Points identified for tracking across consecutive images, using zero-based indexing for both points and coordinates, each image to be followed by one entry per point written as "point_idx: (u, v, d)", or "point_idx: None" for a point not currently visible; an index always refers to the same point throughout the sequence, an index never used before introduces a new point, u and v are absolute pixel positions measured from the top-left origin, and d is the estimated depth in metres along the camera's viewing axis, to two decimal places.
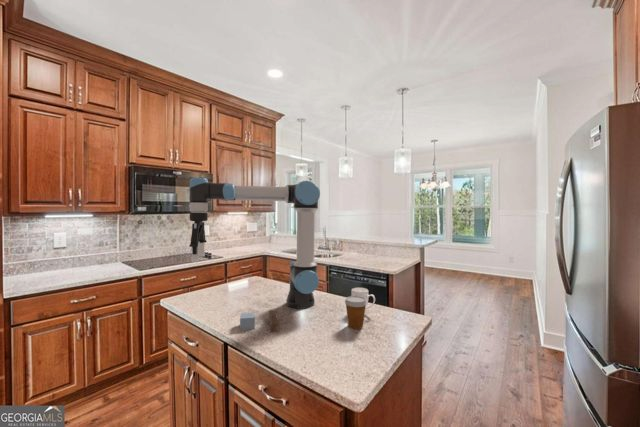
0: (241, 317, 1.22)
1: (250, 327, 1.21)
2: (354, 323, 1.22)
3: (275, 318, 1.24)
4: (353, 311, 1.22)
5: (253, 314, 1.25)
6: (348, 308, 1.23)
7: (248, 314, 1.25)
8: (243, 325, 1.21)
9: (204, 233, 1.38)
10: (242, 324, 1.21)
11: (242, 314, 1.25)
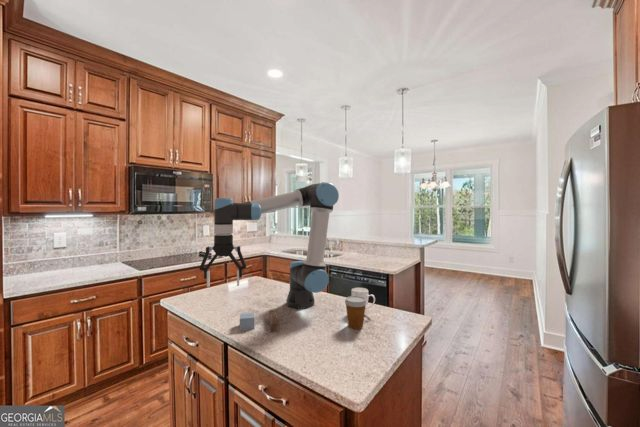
0: (241, 317, 1.21)
1: (250, 327, 1.21)
2: (354, 323, 1.22)
3: (275, 318, 1.24)
4: (353, 311, 1.22)
5: (253, 314, 1.25)
6: (348, 308, 1.23)
7: (248, 314, 1.25)
8: (243, 325, 1.21)
9: (240, 259, 1.22)
10: (241, 324, 1.20)
11: (242, 314, 1.25)
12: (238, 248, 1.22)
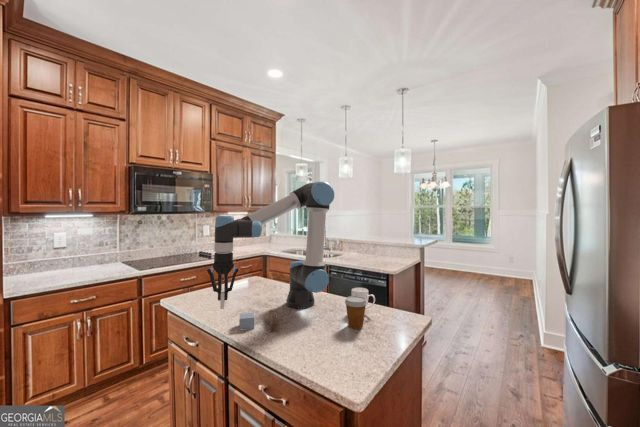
0: (240, 317, 1.21)
1: (249, 327, 1.21)
2: (354, 323, 1.22)
3: (275, 318, 1.24)
4: (353, 311, 1.22)
5: (252, 314, 1.25)
6: (348, 308, 1.23)
7: (247, 314, 1.25)
8: (242, 325, 1.20)
9: (231, 281, 1.21)
10: (241, 324, 1.20)
11: (241, 314, 1.25)
12: (236, 270, 1.21)
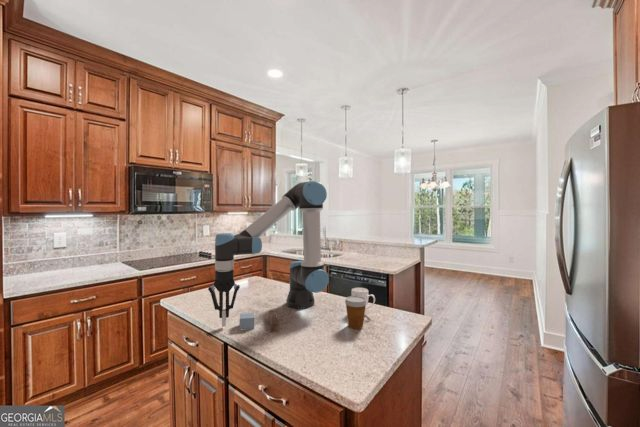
0: (240, 317, 1.21)
1: (249, 327, 1.21)
2: (354, 323, 1.22)
3: (275, 318, 1.24)
4: (353, 311, 1.22)
5: (252, 314, 1.25)
6: (348, 308, 1.23)
7: (247, 314, 1.25)
8: (242, 325, 1.20)
9: (232, 298, 1.21)
10: (241, 324, 1.20)
11: (241, 314, 1.25)
12: (237, 287, 1.22)
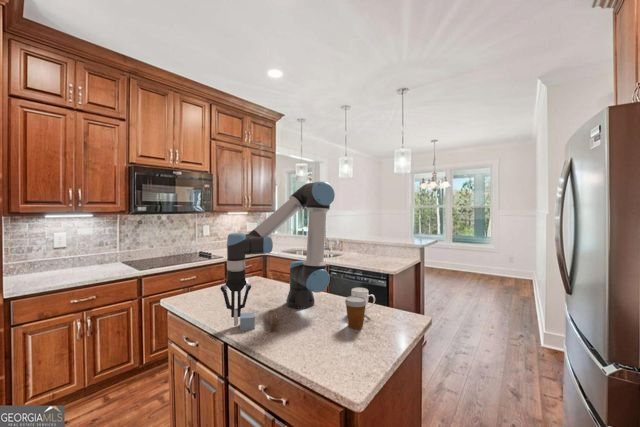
0: (241, 317, 1.21)
1: (250, 327, 1.21)
2: (354, 323, 1.22)
3: (275, 318, 1.24)
4: (353, 311, 1.22)
5: (253, 314, 1.25)
6: (348, 308, 1.23)
7: (248, 314, 1.25)
8: (243, 324, 1.20)
9: (244, 298, 1.22)
10: (242, 324, 1.20)
11: (242, 314, 1.25)
12: (249, 287, 1.23)
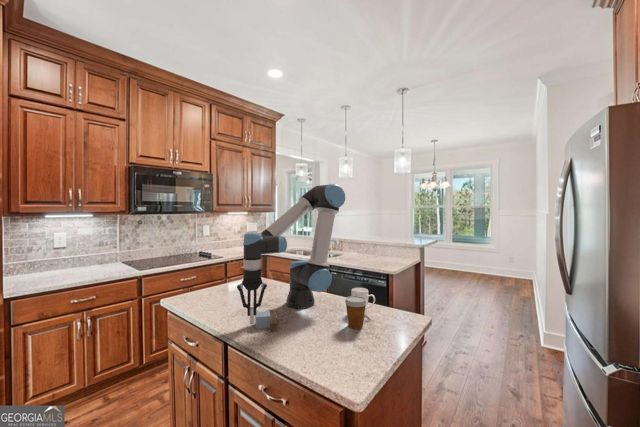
0: (257, 316, 1.23)
1: (266, 326, 1.22)
2: (354, 323, 1.22)
3: (275, 318, 1.24)
4: (353, 311, 1.22)
5: (268, 313, 1.26)
6: (348, 308, 1.23)
7: (263, 313, 1.26)
8: (259, 323, 1.22)
9: (260, 296, 1.24)
10: (258, 322, 1.22)
11: (257, 313, 1.26)
12: (265, 286, 1.24)
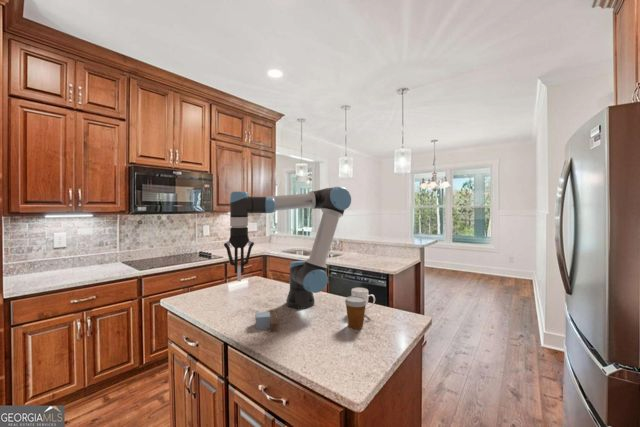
0: (257, 316, 1.23)
1: (266, 326, 1.22)
2: (354, 323, 1.22)
3: (275, 318, 1.24)
4: (353, 311, 1.22)
5: (268, 313, 1.26)
6: (348, 308, 1.23)
7: (263, 313, 1.26)
8: (259, 324, 1.22)
9: (247, 254, 1.26)
10: (258, 323, 1.22)
11: (257, 313, 1.26)
12: (252, 244, 1.26)
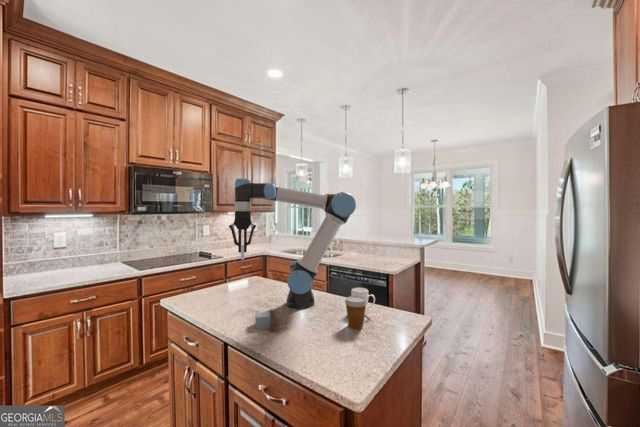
0: (257, 316, 1.23)
1: (266, 326, 1.23)
2: (354, 323, 1.22)
3: (275, 318, 1.24)
4: (353, 311, 1.22)
5: (268, 313, 1.26)
6: (348, 308, 1.23)
7: (263, 313, 1.26)
8: (259, 324, 1.22)
9: (250, 235, 1.39)
10: (258, 323, 1.22)
11: (257, 313, 1.26)
12: (254, 226, 1.39)
